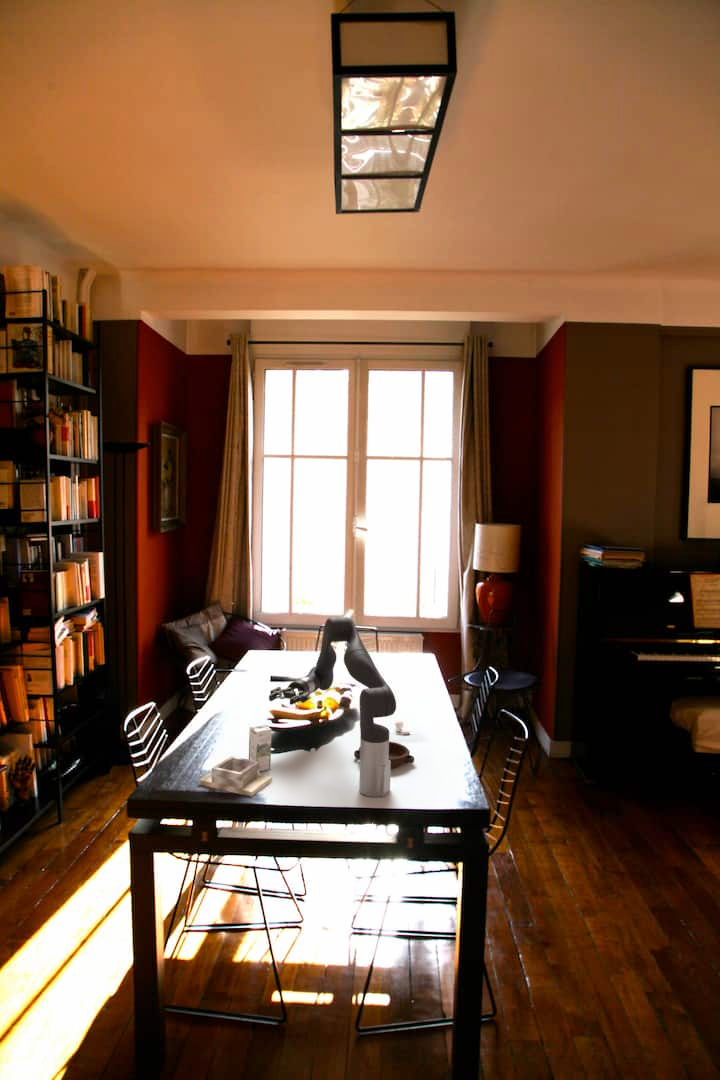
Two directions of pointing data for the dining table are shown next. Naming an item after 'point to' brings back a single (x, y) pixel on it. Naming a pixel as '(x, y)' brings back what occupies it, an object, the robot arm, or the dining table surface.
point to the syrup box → (260, 746)
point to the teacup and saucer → (400, 728)
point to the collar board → (236, 776)
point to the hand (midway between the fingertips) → (280, 700)
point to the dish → (395, 754)
